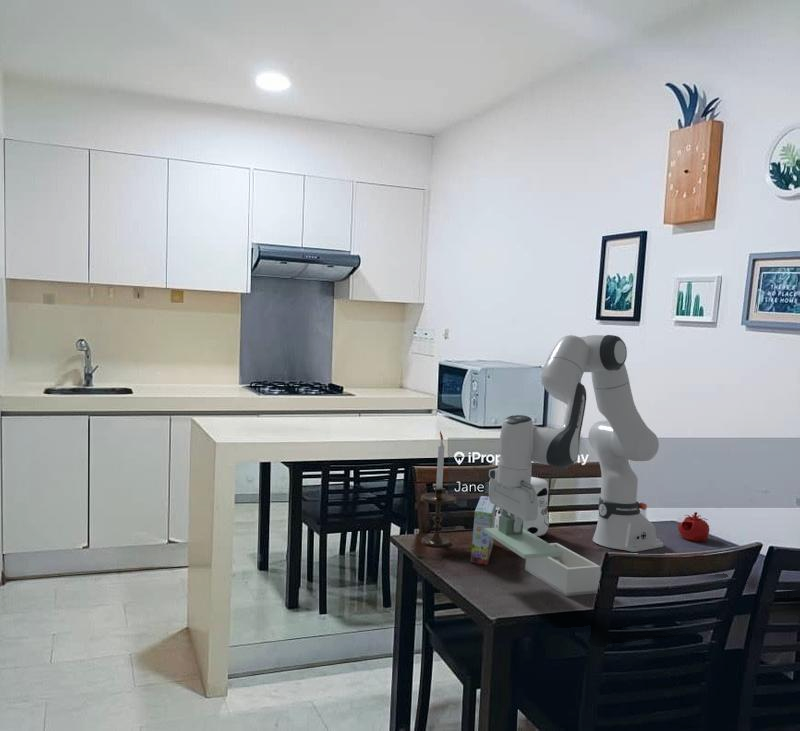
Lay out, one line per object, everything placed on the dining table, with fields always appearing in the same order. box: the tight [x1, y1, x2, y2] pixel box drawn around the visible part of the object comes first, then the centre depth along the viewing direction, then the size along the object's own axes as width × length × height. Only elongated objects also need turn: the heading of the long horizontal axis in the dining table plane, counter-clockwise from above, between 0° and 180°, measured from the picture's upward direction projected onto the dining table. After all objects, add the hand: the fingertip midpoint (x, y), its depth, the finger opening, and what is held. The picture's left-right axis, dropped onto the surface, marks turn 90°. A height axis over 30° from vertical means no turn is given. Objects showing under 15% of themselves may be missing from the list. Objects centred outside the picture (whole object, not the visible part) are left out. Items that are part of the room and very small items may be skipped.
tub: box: [524, 542, 601, 597], centre depth 188 cm, size 10×20×7 cm, turn 20°
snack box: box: [470, 495, 497, 566], centre depth 208 cm, size 21×6×15 cm, turn 168°
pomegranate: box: [677, 511, 710, 543], centre depth 235 cm, size 10×10×9 cm
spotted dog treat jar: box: [495, 476, 550, 538], centre depth 230 cm, size 17×17×18 cm
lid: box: [484, 515, 563, 560], centre depth 180 cm, size 11×21×6 cm, turn 20°
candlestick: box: [420, 430, 457, 548], centre depth 215 cm, size 11×11×35 cm
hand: (510, 528), depth 186 cm, fingers closed on lid, 4 cm apart
